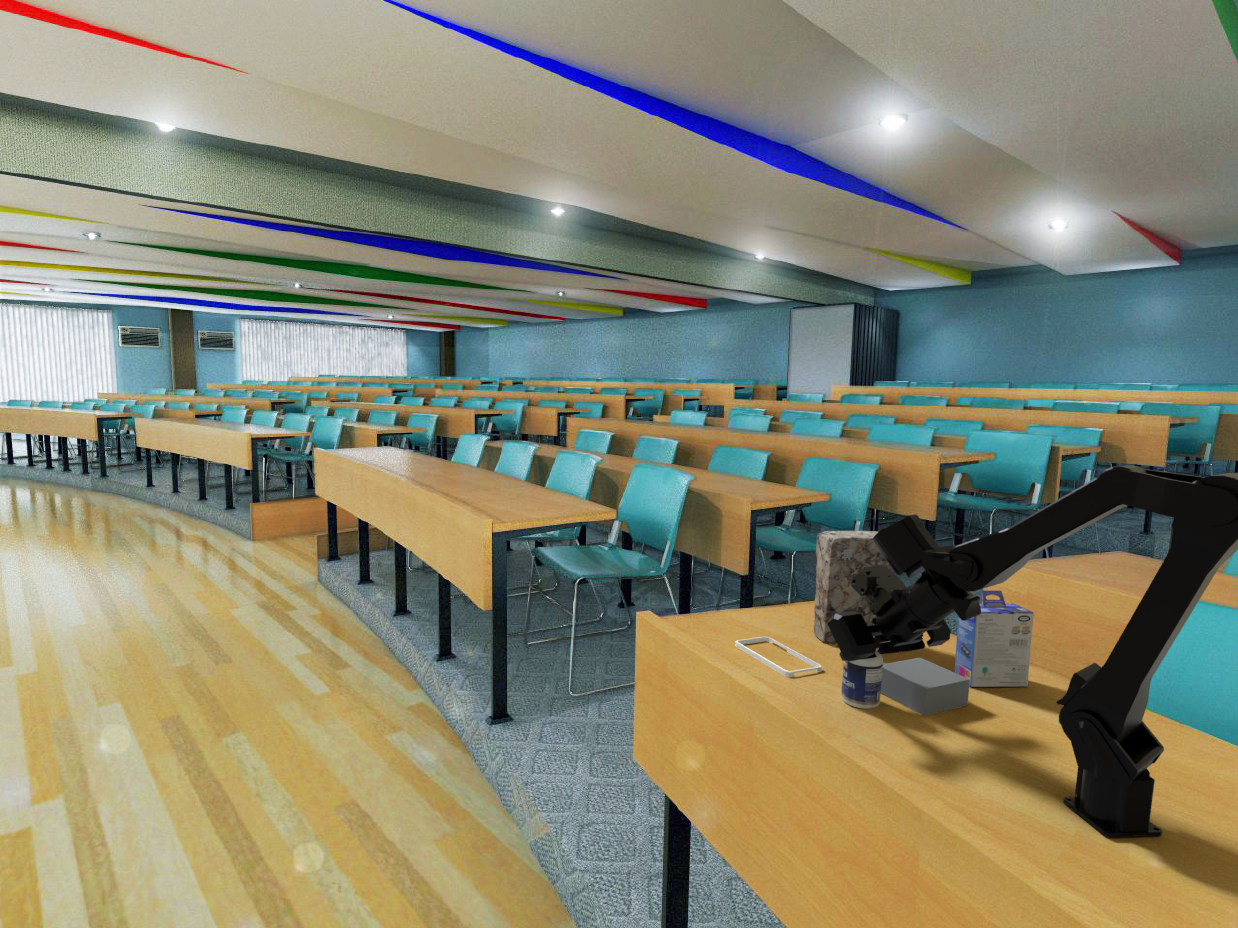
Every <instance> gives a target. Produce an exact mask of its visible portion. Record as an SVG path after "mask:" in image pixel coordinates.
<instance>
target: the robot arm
mask: <svg viewBox="0 0 1238 928" xmlns="http://www.w3.org/2000/svg"><path fill="white" fill-rule="evenodd" d="M1126 506H1127V507H1128V506H1129V507H1132V508H1136V509H1140V510H1143V511H1148V512H1150V513H1153V514H1156V515H1157V514H1158V515H1162V516H1166V517H1171V518H1173V520H1172V524H1171V529H1170V538H1169V546H1168V551H1167V554H1166V556H1165V558H1164V560H1163V561H1162V563H1161V565H1160V567H1159V569H1158V570H1157V572H1156V573H1155V575H1154V577H1153V578H1152V581H1151V582H1150V584H1149V585H1148V587H1147V589H1146V591H1145V592H1144V594H1143V596H1142V598H1141V600H1140V601H1139V603H1138V605H1137V607H1136V609H1135V610H1134V612H1133V614H1132V616H1131V617H1130V619H1129V620H1128V623H1127V624H1126V626H1125V628H1124V629H1123V631H1122V633H1121V635H1120V637H1119V638H1118V640H1117V641H1116V643H1115V645H1114V647H1113V649H1112V650H1111V652H1110V654H1109V655H1108V657H1107V659H1106V661H1105V663H1104V664H1103V665H1102V666H1101V665H1099V664H1098V663H1096V662H1093V663H1091V664H1089V665H1087V666H1085V667H1083V668H1081V669H1080V670H1078V671H1076V672H1074V673H1073V674H1072V676H1071V678H1070V681H1069V684H1068V688H1067V690H1066V693H1065V694H1064V695H1063V696H1062V698H1060V699H1059V700H1057V701H1056V703H1055V704H1057V705H1059V706H1062V707H1061V708H1060V711H1059V714H1058V723H1059V724H1060V726H1061V728H1062V731H1063V733H1064V735H1066V737H1067V738H1068V740H1069V741H1070V745H1071V747H1072V750H1073V754H1074V758H1075V761H1076V765H1077V774H1076V783H1075V792H1074V793H1075V796H1064V797H1063V803H1064V804H1065V805H1066V806H1067V807H1069V808H1070V809H1071V811H1072V810H1073V812H1075V814H1078V816H1079V817H1081V818H1082V819H1083V820H1084V821H1086V822H1087V823H1088V824H1090V825H1091V826H1092V827H1093V828H1095V830H1097V831H1098V832H1100V833H1101V834H1102V835H1103V836H1105V837H1108V838H1125V837H1127V838H1128V837H1157V836H1159V837H1160V836H1162V835H1163V830H1162V829H1161V828H1160V827H1159V826H1157V825H1156V824H1155V823H1153V822H1151V821H1150V820H1151V812H1152V806H1153V805H1152V804H1153V798H1154V788H1155V782H1156V780H1155V779H1154V778H1153V777H1152V776H1151V772H1150V771H1149V769H1148V768H1149V767H1151V765H1153V764H1155V763H1156V762H1157V760H1159V758H1160V757H1161V756H1162V754H1163V752H1164V751H1165V747H1164V745H1163V744H1162V742H1160V741H1159V740H1158V737H1156V735H1155V734H1154V733H1153V732H1152V731H1151V730H1150V728H1149V727H1148V726H1147V725H1146V723H1145V721H1143V719H1144V715H1145V712H1146V711H1147V710H1146V709H1147V706H1148V703H1149V696H1150V688H1151V681H1152V679H1153V677H1154V675H1155V674H1156V672H1157V670H1158V669H1159V667H1160V665H1162V662H1163V661H1164V658H1166V655H1167V654H1168V652H1169V651H1170V649H1171V647H1172V645H1173V644H1174V642H1175V641H1176V639H1177V637H1178V636H1179V635H1180V632H1181V631H1182V629H1183V627H1184V626H1185V625H1186V622H1187V621H1188V619H1189V617H1191V615H1192V613H1193V611H1194V610H1195V608H1196V606H1197V604H1199V601H1200V599H1201V597H1202V596H1203V594H1204V593H1205V591H1206V590H1207V588H1208V586H1209V584H1210V583H1211V582H1212V579H1213V578H1215V575H1216V574H1217V571H1218V570H1219V569H1220V568H1221V566H1222V565H1223V564H1225V563H1226V562H1227V561H1228V560H1229V558H1232V556H1233V555H1234V554H1235V553H1237V551H1238V472H1229V473H1227V472H1226V473H1220V474H1214V475H1213V474H1212V475H1208V476H1198V475H1193V474H1191V475H1190V474H1184V473H1179V472H1178V473H1177V472H1170V471H1169V472H1168V471H1160V470H1155V469H1147V468H1142V467H1141V466H1138V465H1133V464H1131V465H1129V464H1128V465H1126V464H1125V465H1117V466H1116V465H1115V466H1111V467H1108V468H1105V469H1104V470H1103V471H1102V472H1101V473H1100V474H1098V475H1097V476H1096V477H1095V478H1093V479H1091V480H1090V481H1088V482H1086V483H1084V484H1083V485H1081V486H1079V487H1077V488H1076V489H1074V490H1072V491H1070V492H1069V493H1067V494H1065V495H1064V496H1062V497H1060V498H1059V499H1057V500H1055V501H1053V502H1051V503H1050V504H1047V505H1046V506H1044V507H1043V508H1041V509H1039V510H1037V511H1036V512H1034V513H1032V514H1030V515H1028V516H1027V517H1025V518H1024V519H1021V520H1019V521H1018V522H1017V523H1015V524H1013V525H1012V526H1010V527H1009V526H1008V527H1007V528H1004V529H1001V530H1000V531H999V530H998V531H996V532H995V531H994V532H992V533H989V534H987V535H984V536H983V535H982V536H979V537H977V538H975V539H971V540H969V541H966V542H963V543H960V544H957V545H954V544H949V545H944V546H940V545H939V543H938V542H937V541H936V540H935V539H934V537H933V536H932V535H931V533H930V532H929V530H927V528H926V527H925V525H924V523H923V521H922V520H921V517H920V516H919V515H918V514H915V513H914V514H908V515H906V516H905V517H904V518H902V519H901V520H898V521H896V522H893V523H892V524H890V525H889V526H887V527H884V528H881V529H880V530H879V531H877V532H878V533H877V534H876V535H875V536H874V537H873V542H874V543H875V544H876V546H877V547H878V549H879V550H880V552H881V553H882V554H883V556H884V557H885V559H886V560H887V561H888V563H889V564H890V566H891V567H892V568H893V570H894V571H893V572H892V571H891V570H890V569H889V568H887V567H885V566H881V565H880V566H870V567H864V568H863V569H860V570H858V572H857V573H856V574H853V575H852V581H851V586H852V588H853V589H854V590H855V591H856V592H857V593H858V594H859V595H860V596H866V597H867V598H868V599H869V600H870V601H871V602H872V603H874V604H872V605H871V606H870V607H869V608H870V610H871V612H872V614H873V615H876V616H877V618H873V619H871V622H872V624H873V625H872V626H867V624H866V622H865V620H864V618H863V617H862V615H861V613H858V612H856V611H849V612H841V613H835V614H834V615H833V616H832V617H831V618H830V619H828V622H827V625H828V627H829V629H830V631H831V633H832V635H833V637H834V639H835V641H836V643H837V644H836V645H837V647H838V648H839V649H838V650H839V651H840V652H839V657H840V659H841V661H843V662H844V661H855V660H864V659H869V658H875V657H877V656H876V654H875V652H876V649H877V648H879V649H878V650H877V652H879V653H880V654H881V655H882V656H883V655H888V654H889V655H890V654H897V653H907V652H913V651H918V650H919V651H920V650H924V649H926V644H927V647H928V648H932V647H937V646H941V645H943V644H945V643H946V642H948V641H950V639H951V631H952V630H951V628H950V627H949V625H948V623H947V622H946V620H945V619H946V618H947V617H948V616H949V615H952V614H953V613H955V614H956V615H957V617H958V616H959V618H960V619H961V620H962V621H965V620H968V619H970V618H973V617H975V616H978V615H980V614H981V606H980V604H981V603H980V600H981V597H980V596H978V595H975V594H973V593H972V592H976V591H979V590H980V591H981V590H984V589H987V588H989V587H993V586H996V585H999V584H1004V583H1005V582H1006V581H1007V580H1009V579H1010V578H1011V577H1012V576H1014V575H1015V574H1016V573H1018V572H1019V571H1020V570H1021V569H1023V568H1024V566H1026V565H1027V563H1028V562H1029V561H1030V560H1031V559H1033V558H1034V557H1035V556H1036V555H1037V554H1038V553H1040V552H1041V551H1043V550H1045V549H1047V548H1049V547H1051V546H1052V545H1055V544H1056V543H1058V542H1060V541H1062V540H1064V539H1065V538H1067V537H1069V536H1071V535H1074V534H1075V533H1077V532H1078V531H1081V530H1083V529H1084V528H1087V527H1088V526H1090V525H1093V524H1094V523H1096V522H1098V521H1099V520H1102V519H1103V518H1105V517H1107V516H1110V515H1111V514H1113V513H1115V512H1117V511H1119V510H1120V509H1122V508H1124V507H1126ZM894 572H895V573H894ZM924 572H925V573H924ZM922 573H924V574H923V575H921V576H920V577H919V578H917V579H916V580H915V581H914V582H912V583H911V584H910V585H909V586H908V587H907V586H906V584H905V582H904V581H903V580H902V579H901V578H899V577H902V576H904V575H906V576H907V577H908V578H909V579H911V578H914V577H917V576H918V575H920V574H922ZM924 633H927V635H928V637H929V639H928V640H927V641H926V643H925V641H924V638H923V637H924Z"/></svg>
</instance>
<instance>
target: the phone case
mask: <svg viewBox="0 0 1238 928" xmlns="http://www.w3.org/2000/svg"><path fill="white" fill-rule="evenodd" d="M762 642H767V643H770V644H776V645H778V646H779V647H781V648H783V649H785V650H786V653H788V654H790V655H791V656H793V657H795V658H797V659H799V661H802V662H804V663H806V664H807V665H809V666H811V667H807V668H802V669H801V668H800V669H794V670H787V669H785V668H783V667H781V666H780V665H777V664H776V663H775V662H773V661H771V660H769V658H766V657H764V656H763V655H761V654H759V653H758V652H756V651H754V650H752V649H751V648H748V646H746V645H748V644H755V643H762ZM734 645H735V647H736V648H737V649H739V650H741V651H743V652H744V653H746V654H747V655H749V657H750V656H751V657H752V658H754V659H755V660H757V661H759V662H760V663H762V664H764V665H765V666H767V667H769V668H770V669H772V670H774V671H775V672H777V673H778V674H780V675H781V676H784V677H786V678H793V677H795V674H797V673H802V672H803V673H804V672H808V671H814V670H815V672H816V673H821V672H822V671H823V666H822V664H820V663H818V662H816V661H814V660H812V659H810V658H809V657H807V656H805V655H803V654H801V653H800V652H797V651H796V650H794V649H792V648H790V647H788V646H786V645H785V644H783V643H781V642H779V641H778V640H775V639H773V638H772V637H770V636H759V637H752V638H751V637H750V638H746V639H738V640H735V642H734Z"/></svg>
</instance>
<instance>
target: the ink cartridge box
mask: <svg viewBox="0 0 1238 928" xmlns="http://www.w3.org/2000/svg"><path fill="white" fill-rule="evenodd" d="M980 594H981V602H982V603H979V604H980V606H981V614H980V615H978V616H975V617H973V618H970V619H968V620H965V621H962V620H961V619H960V618H959V616H958V615H957V626H956V627H957V628H956V629H957V631H956V645H955V657H954V658H955V661H954V673H957V674H959V675H961V676H963V677H966V678H968V679H970V685H969V688H970V687H971V688H983V687H984V688H987V687H988V688H990V687H992V688H993V687H996V688H997V687H998V688H1000V687H1002V688H1003V687H1011V688H1012V687H1013V688H1014V687H1028V684H1029V672H1030V663H1031V662H1030V661H1031V647H1032V637H1033V627H1034V616H1035V613H1034V611H1031V610H1030V609H1027V608H1025V607H1022V606H1021V605H1018V604H1016V603H1013V602H1009V603H1008V602H1007V603H1006V601H1005V597H1004V595H1003V591H1002V590H988V589H987V590H986V589H985V590H984V589H980ZM993 595H994V596H997V597H999V599H987V597H988V596H993Z"/></svg>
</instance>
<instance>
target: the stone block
mask: <svg viewBox="0 0 1238 928" xmlns="http://www.w3.org/2000/svg"><path fill="white" fill-rule="evenodd" d="M878 532H879V531H876V530H872V531H871V530H826V531H823V532H820V533H818V534H817V535H816V547H815V559H816V567H815V571H816V573H815V576H816V577H815V580H816V581H815V596H814V621H813V622H814V624H813V634H814V635H815V637H817V638H818V639H819V640H820V641H821V642H822V643H823V644H826V645H827V644H830V645H837V643H836V641H835V639H834V637H833V635H832V633H831V631H830V629H829V627H828V625H827V622H828V619H830V618H831V617H832V616H833V615H834V614H835V613H841V612H849V611H856V612H858V613H861V615H862V617H863V618H864V620H865V622H866V624H867V626H872V625H873V624H872V622H871V619H873V618H877V616H876V615H873V614H872V612H871V610H870V608H869V607H870V606H871V605H872V604H874V603H872V602H871V601H870V600H869V599H868V598H867V597H866V596H860V595H859V594H858V593H857V592H856V591H855V590H854V589H853V588H852V586H851V581H852V575H853V574H856V573H857V572H858V570H860V569H863V568H864V567H870V566H880V565H881V566H885V567H887V568H889V569H890V570H891V571H892V572H893V573H894V572H895V571H894V570H893V568H892V567H891V566H890V564H889V563H888V561H887V560H886V559H885V557H884V556H883V554H882V553H881V552H880V550H879V549H878V547H877V546H876V544H875V543H874V542H873V537H874V536H875V535H876V534H877V533H878Z"/></svg>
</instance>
